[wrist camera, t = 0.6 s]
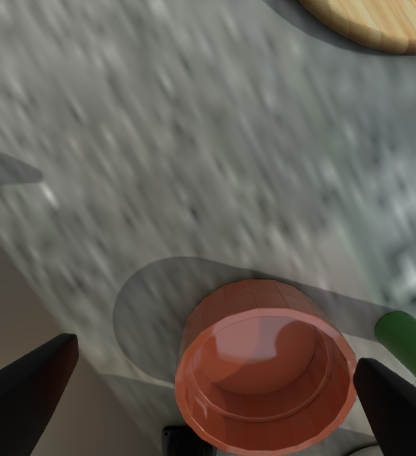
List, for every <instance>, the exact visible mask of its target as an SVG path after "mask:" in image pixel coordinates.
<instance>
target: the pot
mask: <svg viewBox="0 0 416 456" xmlns="http://www.w3.org/2000/svg"><path fill="white" fill-rule="evenodd" d="M356 366H357V362H356V356H355V353H354V352H353V350H352V349H351V347H350V346H349V344H348V343H347V341H346V340H345V338H344V337H343V335H342V334H341V332H340V331H339V330H338V329H337V328H336V327H335V325H334V324H333V323H332V322H331V321H330V319H329V318H328V317H327V316H326V315H325V313H324V312H323V311H322V310H321V309H320V308H319V306H318V305H317V304H316V303H315V302H314V301H313V300H312V299H311V298H310V297H308V296H307V295H306V294H304V293H303V292H301V291H300V290H299V289H297V288H296V287H294V286H291V285H288V284H284V283H281V282H278V281H275V280H265V279H248V280H247V279H246V280H242V281H239V282H235V283H231V284H228V285H224V286H222V287H221V288H219V289H218V290H216V291H214V292H213V293H211V294H210V295H208V296H207V297H205V298H203V299H202V301H201V302H200V303H199V304H198V306H197V307H196V308H195V309H194V310H193V312H192V313H191V314H190V315H189V317H188V319H187V322H186V325H185V328H184V330H183V333H182V336H181V342H180V348H179V355H178V361H177V367H176V373H175V399H176V402H177V404H178V407H179V409H180V411H181V414H182V416H183V418H184V420H185V422H186V423H187V424H188V425H189V426H190V427H191V428H192V429H193V430H194V431H195V433H196V434H197V435H198V436H199V437H200V438H201V439H203V440H205V441H206V442H208V443H210V444H212V445H213V446H215V447H217V448H219V449H220V450H222V451H226V452H230V453H234V454H237V455H241V456H281V455H286V454H290V453H295V452H299V451H302V450H304V449H306V448H308V447H310V446H312V445H314V444H316V443H318V442H320V441H322V440H324V439H325V438H326V437H327V436H328V435H329V434H330V433H332V432H333V431H334V430H335V429H336V428H337V427H338V426H340V425H341V424H342V423H343V421H344V419H345V418H346V416H347V415H348V413H349V411H350V410H351V408H352V406H353V405H354V403H355V400H356V395H357V392H356V390H355V388H354V385H353V374H354V371H355V369H356Z"/></svg>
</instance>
